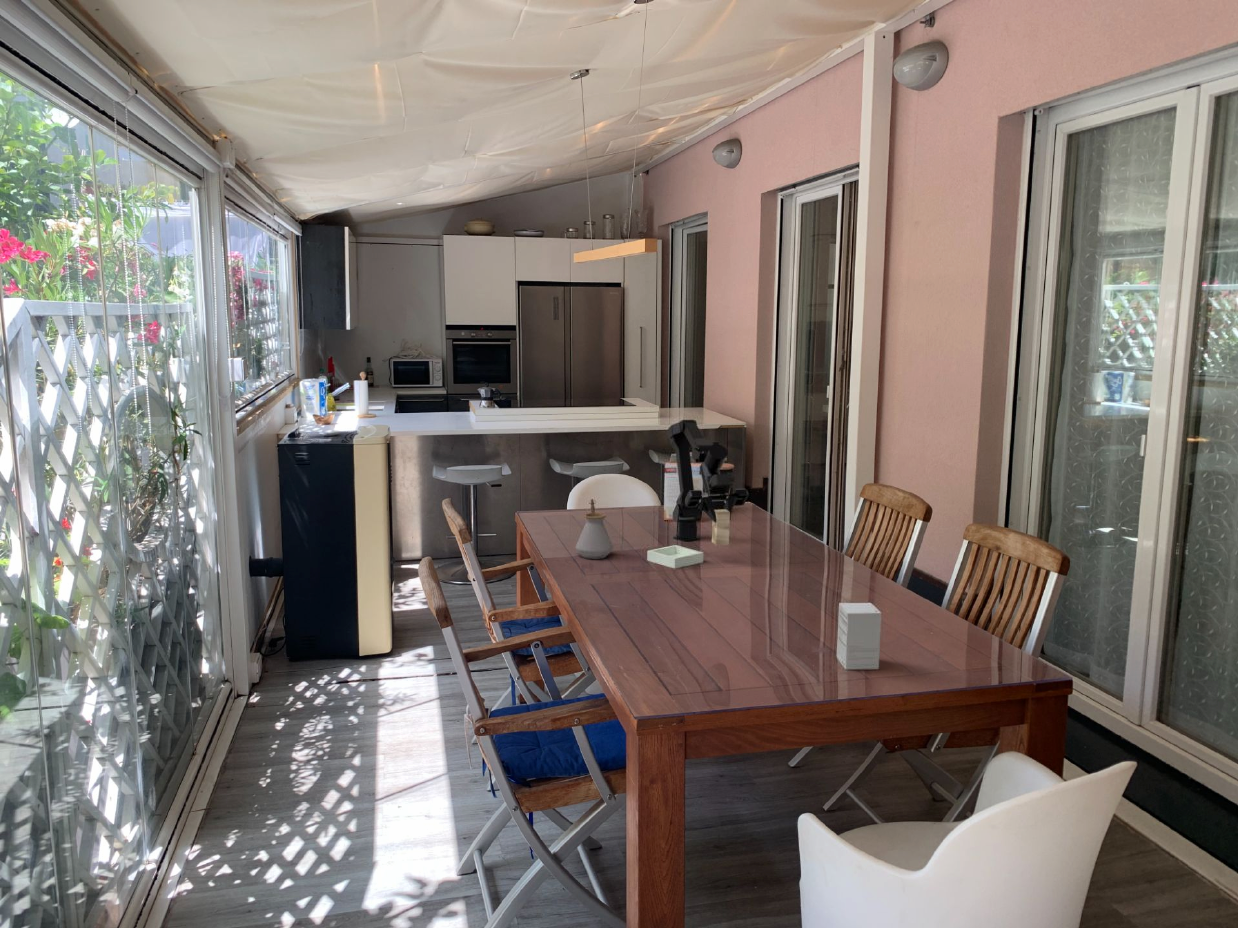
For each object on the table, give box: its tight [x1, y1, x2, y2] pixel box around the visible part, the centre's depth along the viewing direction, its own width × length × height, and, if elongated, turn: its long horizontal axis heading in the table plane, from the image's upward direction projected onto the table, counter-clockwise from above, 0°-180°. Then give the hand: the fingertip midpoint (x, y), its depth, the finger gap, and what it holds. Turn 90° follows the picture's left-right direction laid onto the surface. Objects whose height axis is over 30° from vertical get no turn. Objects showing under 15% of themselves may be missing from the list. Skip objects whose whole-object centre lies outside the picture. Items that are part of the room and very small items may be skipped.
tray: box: [646, 544, 704, 569], centre depth 285 cm, size 12×12×3 cm
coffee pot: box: [575, 498, 614, 560], centre depth 294 cm, size 21×12×15 cm, turn 5°
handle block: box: [711, 509, 731, 546], centre depth 282 cm, size 4×4×10 cm
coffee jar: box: [704, 462, 735, 510], centre depth 359 cm, size 11×11×18 cm
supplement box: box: [836, 602, 882, 671], centre depth 202 cm, size 7×7×13 cm
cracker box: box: [663, 462, 704, 523], centre depth 343 cm, size 14×6×21 cm, turn 84°
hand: (722, 521), depth 280 cm, fingers closed on handle block, 4 cm apart
